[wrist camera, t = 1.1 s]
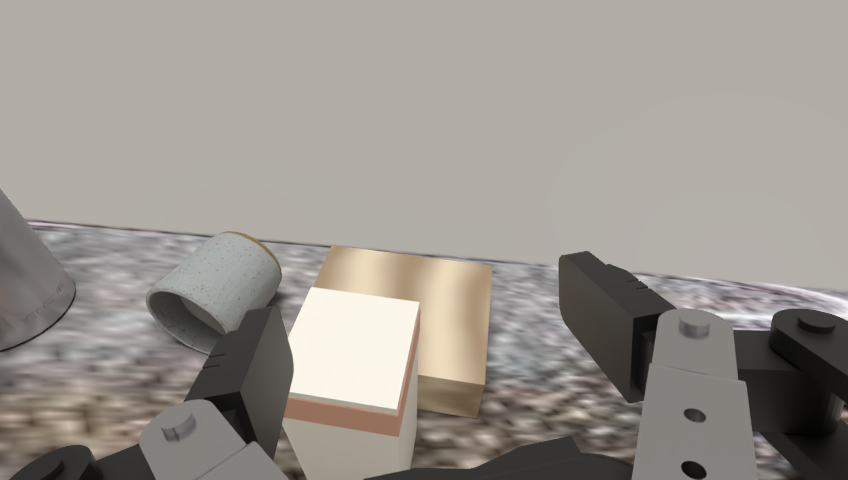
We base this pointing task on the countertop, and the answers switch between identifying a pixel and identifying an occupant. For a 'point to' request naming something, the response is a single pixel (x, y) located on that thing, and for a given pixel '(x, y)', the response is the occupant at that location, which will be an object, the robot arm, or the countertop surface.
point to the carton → (353, 385)
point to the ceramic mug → (214, 289)
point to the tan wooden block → (428, 317)
